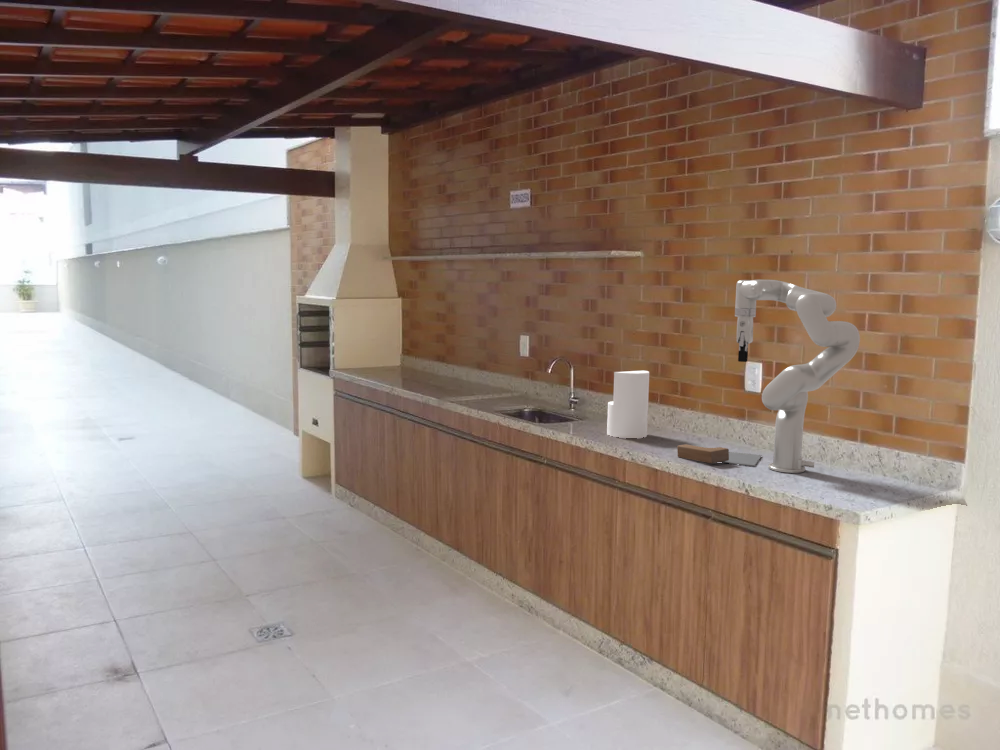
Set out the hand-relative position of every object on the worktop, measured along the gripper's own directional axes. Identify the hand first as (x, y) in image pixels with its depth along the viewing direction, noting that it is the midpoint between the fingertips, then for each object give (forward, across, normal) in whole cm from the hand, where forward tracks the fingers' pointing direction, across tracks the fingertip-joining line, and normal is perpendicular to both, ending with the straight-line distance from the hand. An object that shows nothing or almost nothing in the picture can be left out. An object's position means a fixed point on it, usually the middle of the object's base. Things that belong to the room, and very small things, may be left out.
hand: (742, 361), depth 310 cm
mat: (+37, -3, +2) cm, 37 cm away
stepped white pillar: (+37, +25, +51) cm, 68 cm away
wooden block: (+34, -17, +4) cm, 38 cm away
